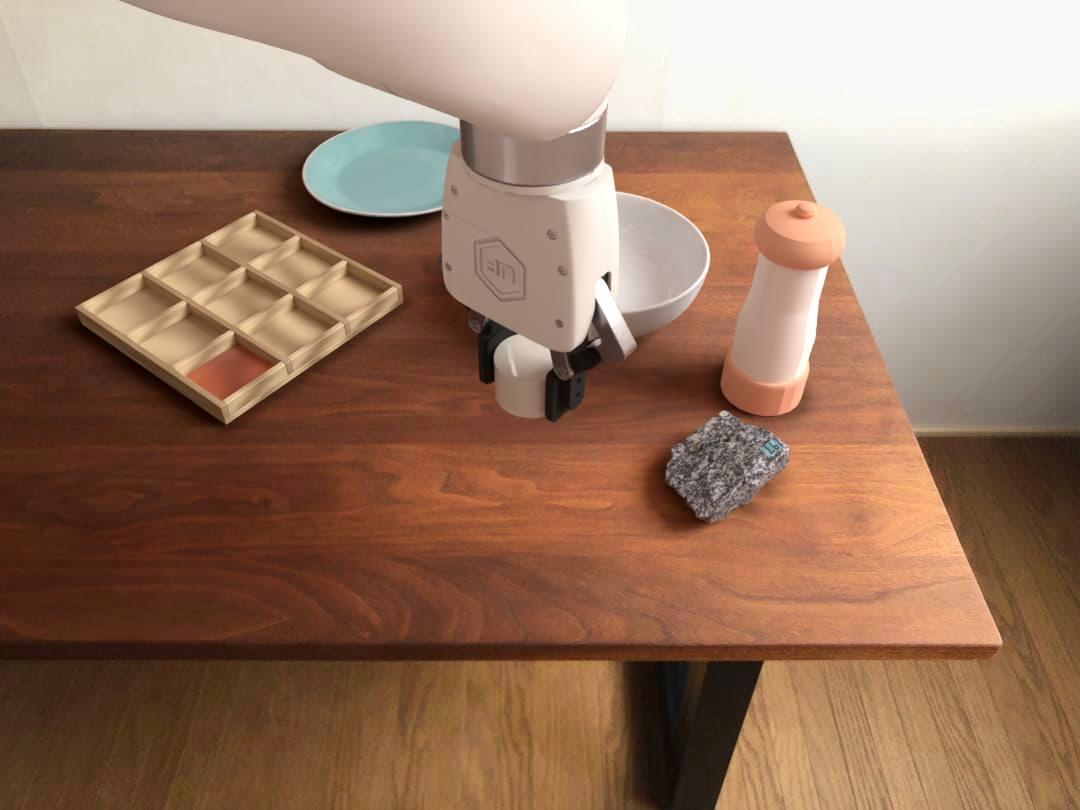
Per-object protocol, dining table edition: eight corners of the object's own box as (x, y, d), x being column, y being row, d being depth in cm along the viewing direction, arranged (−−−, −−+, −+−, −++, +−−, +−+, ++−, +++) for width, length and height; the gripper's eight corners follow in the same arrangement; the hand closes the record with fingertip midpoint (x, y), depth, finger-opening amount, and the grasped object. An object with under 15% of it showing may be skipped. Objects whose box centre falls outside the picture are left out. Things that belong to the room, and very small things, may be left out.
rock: (637, 480, 73) (642, 445, 70) (725, 427, 77) (733, 392, 74) (703, 541, 69) (711, 506, 66) (792, 481, 73) (803, 446, 70)
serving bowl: (731, 355, 84) (743, 297, 79) (512, 385, 81) (511, 326, 76) (664, 233, 99) (671, 178, 94) (476, 254, 95) (474, 198, 91)
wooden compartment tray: (226, 425, 77) (220, 407, 75) (81, 324, 86) (74, 307, 85) (403, 302, 89) (401, 285, 88) (260, 225, 99) (256, 209, 97)
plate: (266, 188, 104) (261, 166, 102) (405, 121, 117) (403, 100, 115) (395, 262, 94) (393, 239, 92) (533, 180, 106) (533, 158, 104)
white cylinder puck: (536, 429, 57) (537, 392, 54) (479, 396, 59) (477, 359, 56) (581, 389, 59) (584, 353, 57) (526, 359, 61) (526, 322, 59)
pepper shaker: (795, 363, 83) (847, 181, 70) (807, 418, 78) (865, 233, 65) (717, 359, 84) (754, 177, 70) (723, 414, 79) (764, 229, 65)
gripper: (365, 110, 48) (398, 365, 60) (626, 223, 40) (601, 486, 53) (460, 64, 52) (472, 312, 65) (712, 159, 44) (670, 417, 57)
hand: (530, 388), depth 59 cm, fingers closed on white cylinder puck, 4 cm apart
